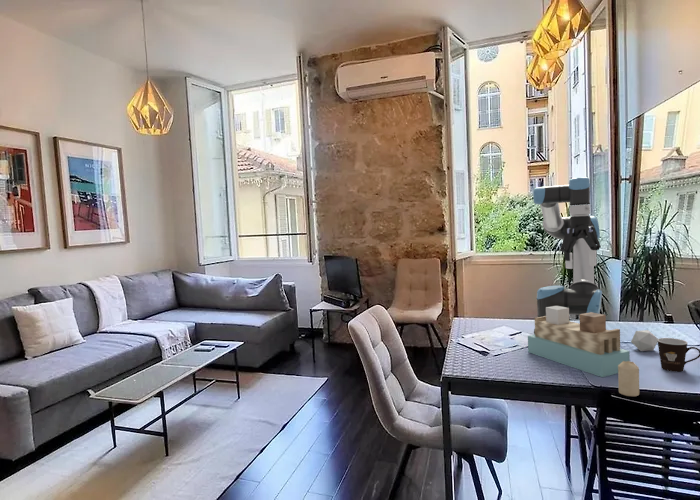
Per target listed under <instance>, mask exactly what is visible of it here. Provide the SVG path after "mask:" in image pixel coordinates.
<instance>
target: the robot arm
mask: <svg viewBox="0 0 700 500" xmlns="http://www.w3.org/2000/svg"><path fill="white" fill-rule="evenodd" d="M533 202H534V204H535V205H540V208H541V213H542V217H543V221H542V226H543V230H545V232H546V233H547V234H548V235H550V236H551V237H553V238H554V239H558V240H563V241H562V243H561V246H560V249H559V250H560V252H562V253H563V254H564V261H565V269H570V270H572V269H573V274H572V275H573V278H572V279H573V280H572V283H571V284H570V285H569V288H565V286H564V285H559V284H558V285H547V286H544V287H540V288H538V289H537V292H536V305H537V306H536V307H537V308H536V310H537V311H536V312H537V317H543V316H546V307H551V306H561V307H566V308H569V316H571V315H572V316H580V314H584V313H590V312H592V313H598V314H601V313H600V312H601V306H602V297H603V291H602V289H599V286H598V285H597V284H596V283H595V268H594V267H596V266H597V257H598V255H597V253H598V251H599V250H600V249H601V244H600V240H599V239H600V238H601V233H600V232H601V231H600V225H599V220H598V218H597V217H596V216H594V215H591V182H590V178H589V177H585V176H584V177H573V178H571V179H569V181H568V184H564V185H563V184H561V185H552V186H551V185H550V186H549V185H548V186H540V187H539V186H538V187H535V188H534V189H533ZM562 203H569V215H570V216H561V212H560V211H561V210H560V204H562ZM572 250H573V252H572ZM533 335H535V328H534V329H533Z"/></svg>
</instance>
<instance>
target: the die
mask: <svg viewBox="0 0 700 500" xmlns="http://www.w3.org/2000/svg"><path fill="white" fill-rule="evenodd" d="M658 339H659V338H658V337H657V336H656V335H654V334H653V333H652V332H651V331H650V330H649V329H647V330H646V329H645V330H644V329H642V330H635V332H634V334H633V337H632V339H631V340H630V343H632V344H633V346H635V347H636V348H637V349H638V350H639V351H640V352H650V351H651V352H652V351H654V350H655V349H656V346H657V345H658V341H657V340H658Z"/></svg>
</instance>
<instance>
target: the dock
mask: <svg viewBox="0 0 700 500" xmlns="http://www.w3.org/2000/svg"><path fill="white" fill-rule="evenodd" d="M527 352H528V353H530V354H532V355H535V356H539V357H542V358H545V359H547V360H549V361H553V362H556V363H559V364H562V365H564V366H568V367H570V368H573V369H576V370H579V371H582V372H586V373H588V374H592V375H595V376H598V377H601V378H605V377H610V376H613V375H617V374H618V365H619V364H620V363H622V362H623V361H631V360H630V358H631V357H630V356H631V355H630V353H631V352H630V350H628V349H623V348H620V351H614V350H612V352H611V353H607V352H604V354H603V355H599V354H595V353H592V352H588V351H585V350H582V349H578V348H575V347H571V346H568V345H564V344H561V343H557V342H554V341H550V340H547V339H543V338H540V337H536V336H535V335H534V334H530V335H527Z"/></svg>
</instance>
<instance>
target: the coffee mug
mask: <svg viewBox="0 0 700 500" xmlns="http://www.w3.org/2000/svg"><path fill="white" fill-rule="evenodd" d="M657 341H658V342H657V348H658V354H659V360H660V366H661V367H660V368H661V369H663V370H664V371H668V372H671V373H672V372H673V373H681V372H684V371H685V366H686V364H687V363H691V362H693V361H695V360H697V359H699V358H700V349H699V348H698V347H695V346H690V347H688V341H686V340H683V339H680V338H673V337H672V338H671V337H661V338H658V340H657ZM692 349H694V350H695V351H696V350H697V352H698V353H699V354H698V356H696V357H694V358H691V359H689V360H686V356H687V353H688V352H689V351H690V350H692Z"/></svg>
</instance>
